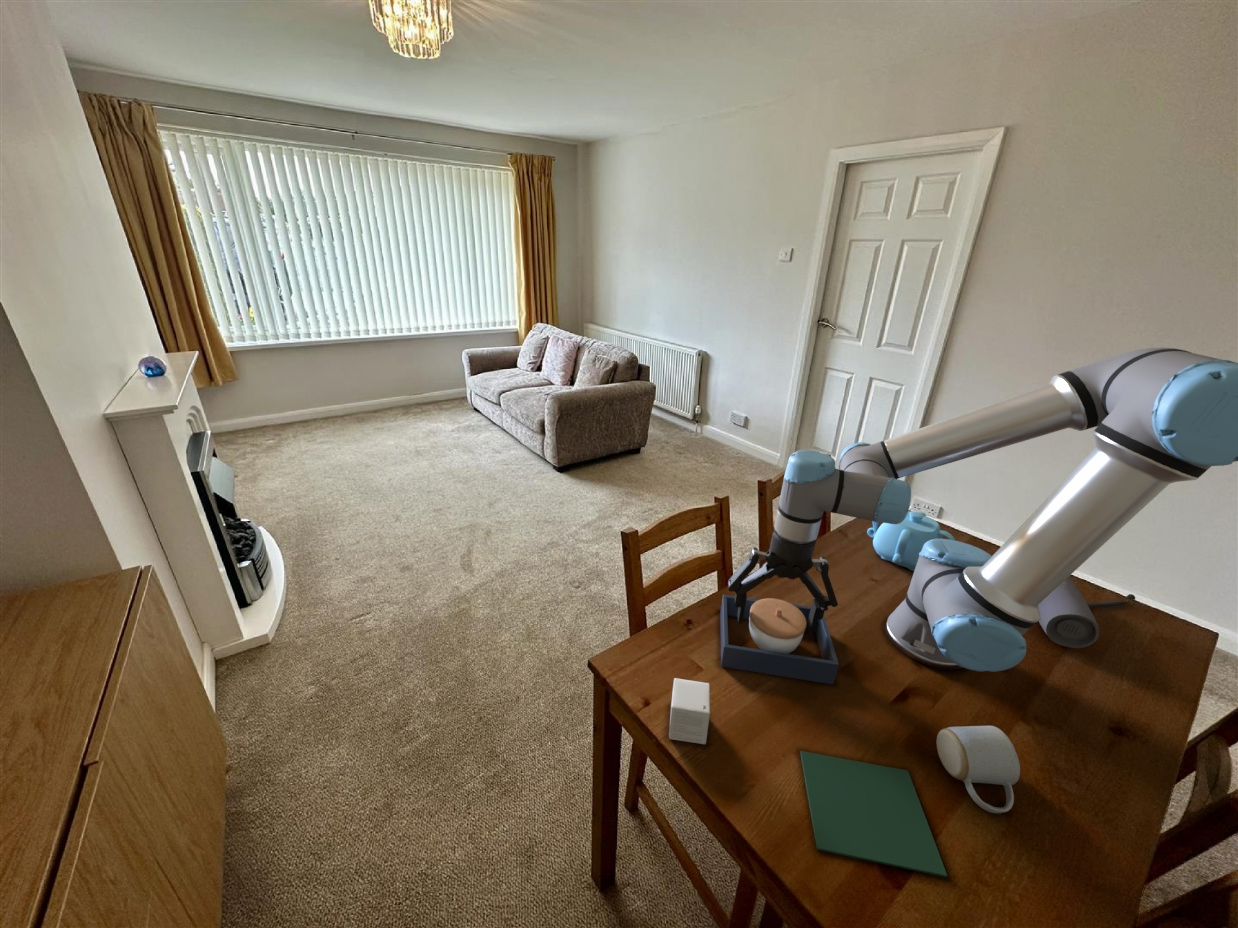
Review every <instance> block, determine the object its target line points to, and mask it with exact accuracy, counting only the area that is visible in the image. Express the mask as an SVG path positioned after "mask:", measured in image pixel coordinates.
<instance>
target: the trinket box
mask: <svg viewBox="0 0 1238 928" xmlns="http://www.w3.org/2000/svg"><path fill="white" fill-rule="evenodd" d="M792 604H793V603H790V602H789V601H785V600H783V599H779V598H774V597H769V598H768V597H766V598H761V599H759V600H758V601H756V602H755V603H754V604H753V605H752V606H751V609H750V618H749V619H748V621H749V622H748V630H749V634H750V637H751V640H752V641H753V643H754V644H755V646H756V647H757V649H759V650H766V651H772V652H779V653H785V654H792V653H793V652H794V651H795V650H796V649H797V648H798V647H799V645H800V644H801V642H802V640H803V637H804V634H805V631H806V628H807V627H806V624H807V623H806V619H805V616H804V615H803V613H802V612H801V611H800V610H799V609H798V608H797V607H795V606H794V605H792Z"/></svg>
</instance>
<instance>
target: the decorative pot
mask: <svg viewBox="0 0 1238 928" xmlns="http://www.w3.org/2000/svg"><path fill="white" fill-rule="evenodd" d="M866 534H867V536H868V537H870V538H871V539H872V546H873V548H874V551H875V552H876V554H878V555H879V557H880V558H881V559H883V560H884V561H888V562H891V563H893V564H895V565H898V566H901V567H904V568H907V569H908V570H909V571H913V572H914V571H915V568H916V565H917V562H918V559H919V556H920V555H919V553H920V552H921V550H922V548H923V546H924V544H925V543H926V542H927V541H929V540H933V539H943V537H945V538H946V539H948V540H954V541H956V539H955V537H954V536H953V535H952V534H951V533H950V532H948V531H946V530H942V529H941V526H940V524H939V522H938V521H936V520H935V519H933V518H931V517H929V516H927V514H926V512H923V511H913V510H912V511H909V510H908V513H907V515H906V517H905V519H904V520H903V521H902V522H901V523H899V524H889V523H882V522H881V524H880V526H879V522H878V523H876V522H874V521H872V527H869V528H868V529H867V531H866Z"/></svg>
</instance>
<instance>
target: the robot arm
mask: <svg viewBox="0 0 1238 928" xmlns="http://www.w3.org/2000/svg"><path fill="white" fill-rule="evenodd" d="M1093 428H1095V429H1094V430H1093V431H1092V436H1093V440H1094V448H1093V450H1091V451H1090V453H1089V454H1088V455H1087V456H1085V458H1084V459H1083V460H1082V461H1081V462H1080V463H1079V465H1077V466H1076V467H1075V469H1074V470H1072V471H1071V473H1070V474H1069V475H1068V476H1067V477H1066V478H1065V479H1064V480H1063V481H1062V482H1061V483H1060V484H1059V485H1058V486H1057V488H1056V489H1055V490H1054V491H1053V492H1051V494H1050V495H1049V496H1047V498H1045V500H1044V501H1043V502H1042V503H1041V504H1040V505H1039V506H1038V507H1037V508H1036V509H1035V511H1033V512H1032V514H1031V515H1029V517H1028V518H1026V520H1025V521H1024V522H1023V523H1022V524H1021V525H1020V526H1019V527H1018V528H1017V529H1016V530H1015V532H1013V534H1011V536H1009V538H1008V539H1007V540H1006V541H1005V542H1004V543H1003V544H1002V545H1001V546H1000V547H999V548H998V549H997V550H996V551H995V552H994V553H993V555H991V554H990V553H988V552H987V551H985V550H984V549H981V548H979V547H977V546H974V545H972V544H970V543H966V542H962V541H959V540H958V541H957V540H955V541H954V540H949V539H948V538H942V539H933V540H929V541H927V542H926V543H925V544H924V546H923V548H922V550H921V552H920V553H919V555H920V556H919V559H918V562H917V565H916V568H915V571H913V574H912V577H911V580H910V583H909V586H908V589H907V593H906V595H905V598H904V599H903V600H902V602H900V604H899V605H897V607H896V608H895V610H893V611H892V612H891V613H890V614H889V616H888V617H887V620H886V623H885V626H884V627H885V629H884V630H885V634H886V636H887V638H888V639H889V641H890V642H891V643H892V645H893V646H895V647H896V648H897V649H898V650H899V651H900V652H901V653H903V654H904V655H906V657H909V658H910V659H912V660H913V661H915V662H918V663H920V664H922V665H925V666H928V667H931V668H934V669H939V670H948V671H953V670H959V669H963V668H964V669H967V670H970V671H973V672H979V673H980V672H981V673H983V672H991V673H996V672H1002V671H1006V670H1007V671H1008V670H1009V669H1012V668H1014V667H1016V666H1018V665H1019V664H1020V663H1021V662H1022V661H1023V660H1024V658H1025V657H1026V654H1027V643H1026V639H1025V637H1024V635H1025V634H1026V633H1027V632H1028V631H1029V630H1030V629H1032V628H1033V626H1035V625H1036V624H1037V623H1039V620H1040V618H1041V616H1040V612H1039V608H1038V604H1039V603H1040V602H1042V601H1043V600H1044V599H1045V598H1046V597H1047V596H1048V595H1049V594H1050V593H1051V592H1052V591H1053V590H1055V589H1056V588H1057V587H1058V586H1059V585H1060V584H1061V583H1062V582H1063V581H1064V580H1065V579H1067V578H1068V577H1070V576H1071V575H1072V574H1074V573H1075V571H1076V570H1078V569H1079V568H1080V567H1081V566H1082V565H1083V564H1085V562H1086V561H1087V560H1089V558H1091V557H1092V556H1093V555H1094V554H1095V553H1096V552H1097V551H1098V550H1100V549H1101V548H1102V547H1103V546H1104V545H1105V544H1106V543H1107V542H1108V541H1109V540H1110V539H1112V537H1113V536H1114V535H1116V534H1117V533H1118V532H1119V531H1120V530H1121V529H1122V528H1124V527H1125V526H1126V525H1127V524H1128V523H1129V522H1130V521H1131V520H1133V518H1134V517H1135V516H1136V515H1138V514H1139V513H1140V512H1141V511H1142V510H1143V509H1144V508H1146V506H1147V505H1149V504H1150V502H1152V501H1153V500H1154V499H1155V498H1156V497H1157V496H1158V495H1159V494H1160V493H1162V492H1163V491H1164V490H1165V489H1166V488H1167V487H1168V486H1170V484H1173V483H1179V482H1188V481H1197V480H1198V479H1199V478H1200V477H1201V476H1202V475H1204V474H1205V473H1206V472H1207V471H1208V470H1209V469H1210V468H1212V467H1224V466H1229V465H1232V464H1233V463H1234V462H1238V362H1237V361H1236V362H1235V361H1232V360H1229V359H1222V358H1217V357H1212V356H1208V355H1204V354H1198V353H1195V352H1194V353H1193V352H1191V351H1189V350H1185V349H1179V348H1174V347H1153V348H1152V347H1151V348H1150V347H1149V348H1142V349H1137V350H1136V349H1135V350H1132V351H1127V352H1124V353H1120V354H1117V355H1113V356H1109V357H1106V358H1102V359H1098V360H1096V361H1094V362H1090V363H1088V364H1084V365H1081V366H1079V367H1076V368H1073V369H1070V370H1066V371H1064V372H1061V373H1058V374H1056V375H1054V376H1052V377H1051V379H1050V381H1049V382H1048V384H1045V385H1043V386H1039V387H1037V388H1034V389H1031V390H1028V391H1026V392H1022V393H1019V394H1016V395H1014V396H1011V397H1008V398H1005V399H1002V400H999V401H996V402H993V403H989V404H988V405H984V406H982V407H979V408H975V409H972V410H970V411H966V412H963V413H961V414H958V415H955V416H952V417H950V418H949V417H948V418H946V419H943V420H941V421H938V422H934V423H931V424H928V425H926V426H923V427H921V428H916V429H914V430H911V431H908V432H904V433H902V434H900V435H896V436H893V437H891V438H888V439H885V440H882V441H878V442H875V443H872V444H871V443H868V442H861V441H860V442H853V443H851V444H849V445H848V446H846V447H845V448H844V449H843V450H842V452H841V454H840V456H839V462H838V468H836V461H835V459H834V457H832V456H831V455H829V454H828V453H824V452H820V451H819V450H813V449H800V450H796V451H794V452H793V453H791V455H790V456H789V458H788V461H787V465H786V468H785V471H784V474H783V475H784V476H783V480H782V481H783V482H782V486H781V491H780V495H779V502H778V507H777V511H776V515H775V521H774V525H773V530H772V535H771V539H770V543H769V548H768V550H767V551H766V552H765V551H760V550H759V549H758V548H757V547H755V546H754V547H752V548H751V549H750V553H749V556H747V558H746V559H745V561H743V562H742V564H741V565H740V566H739V567H738V568H737V569H736V571H735V572H734V573H733V574H732V576H730V578H729V579H728V581H727V586H728V588H727V589H728V591H729V592H734V593H735V595H734V596H735V607H739V608H738V617H737V624H743V620H744V618H743V615H744V610H745V605H746V599H747V598H748V594H747V593H748V592H750V591H751V590H752V589H755V588H756V587H757V586H759V585H760V584H762V583H763V582H765V581H767V580H770V579H772V578H774V577H775V576H776V577H777V578H781V579H783V578H784V579H785V578H786V579H789V580H796V579H798V578H799V580H800V582H801V583H802V584H803V585H804V586H805V587H806V589H807V590H808V592H809V593H810V594H811V596H812V597H813V599H812V603H811V605H810V607H811V610H810V614H809V617H808V621H807V627H806V628H807V632H808V635H812V636H813V635H814V633H815V630H814V629H815V626H816V622H817V619H819V620H821V619H822V618H823V615H824V616H825V612H826V611H828V610H829V607H830V606H831V607H833V608H836V607H838V606H839V603H838V600H837V597H836V594H835V590H834V588H833V585H832V582H831V579H830V576H829V570H830V565H829V562H828V560H827V557H825V556H820V557H819V558H813V556H814V552H815V547H816V544H817V538H818V536H819V532H820V528H821V523H822V519H823V516H824V512H827V513H832V514H837V515H841V516H847V517H850V518H851V517H852V518H856V519H861V520H866V521H870V522H873V521H874V522H876V523H878V524H879V523H881V524H882V523H889V524H899V523H901V522H902V521H903V520H904V519H905V517H906V515H907V513H908V511H909V510H910V506H911V502H912V488H911V485H910V483H909V482H907V481H905V480H901V479H900V478H904V477H908V476H911V475H914V474H918V473H921V472H924V471H928V470H932V469H934V468H938V467H941V466H944V465H948V464H952V463H954V462H958V461H962V460H965V459H969V458H971V457H975V456H978V455H982V454H985V453H989V452H992V451H995V450H998V449H1002V448H1005V447H1008V446H1013V445H1015V444H1018V443H1023V442H1025V441H1029V440H1032V439H1035V438H1036V439H1037V438H1039V437H1042V436H1046V435H1049V434H1054V433H1055V432H1060V431H1063V430H1066V429H1072V430H1075V431H1079V432H1083V431H1086V430H1089V429H1093ZM762 561H765V563H763V565H762V566H761V567H760V568H759V569H757V570H755V571H754V569H755V568H756V566H757V565H758V564H761V562H762ZM813 567H814V568H815V571H816V572H818V573H820V577H821V579H822V582H823V585H824V588H825V591H826V593H827V595H824V594H823V592H822V591H821V589H820V588H819V587H818V585H817V584H816V583H815V581H814V580H813V579H812V577H811V576H810V574H809V573H808V571H809V570H811V569H812V568H813ZM752 571H754V572H752ZM1124 598H1127V599H1130V601H1131V600H1132V601H1135V600H1136V596H1135V595H1134V594H1132V593H1129V594H1127V595H1126V596H1125V597H1124ZM1121 600H1122V599H1120V600H1117V601H1109V602H1098V603H1097V602H1095V603H1087V605H1088V607H1089V609H1098V608H1111V607H1118V606H1119V607H1120V606H1124V605H1126V604H1128V603H1129V602H1130V601H1128V602H1123V601H1121Z"/></svg>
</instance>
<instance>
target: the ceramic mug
mask: <svg viewBox="0 0 1238 928" xmlns="http://www.w3.org/2000/svg"><path fill="white" fill-rule="evenodd" d="M935 743H936V750H937V753H938V757H939V759H940V762H941V764H942V766H943V767H944V769H945V770H946V771H947V773H948V774H949V775H950V776H951V777H952V778H954V779H955V780H959V781H962V783H964V785H965V789H966V791H967V793H968V794H969V796H970V798H971V799H972V800H973V802H974V803H975V804H976V805H977V806H978V807H980V808H981V809H983V810H985V811H986V812H988V813H993V814H1002V813H1007V812H1009V811H1010V810H1012V808H1013V805H1014V803H1015V794H1014V789H1013V785H1015V784H1016V783H1017V782H1018V781H1019V779H1020V777H1021V764H1020V760H1019V755H1018V753H1017V751H1016V748H1015V746H1014V744H1013V743H1012V741H1011V740H1010V738H1009V737H1008V736H1007V734H1006V733H1005V732H1004V731H1002V730H1001V729H1000V728H999V727H996V726H995V725H969V726H967V725H966V726H948V727H944V728H942V729H940V730H939V732H938V733H937V736H936V741H935ZM972 783H976V784H978V783H979V784H990V785H999V786H1001V785H1002V786H1003V788H1004V792H1005V799H1006V802H1005V804H1004V806H1002V807H997V806H993V805H991V804H989V803H987V802H985V801H984V800H982V799H981V798H980V796H979V795H978V793H977V792H976V790H975V788H974V786H973V784H972Z"/></svg>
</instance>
